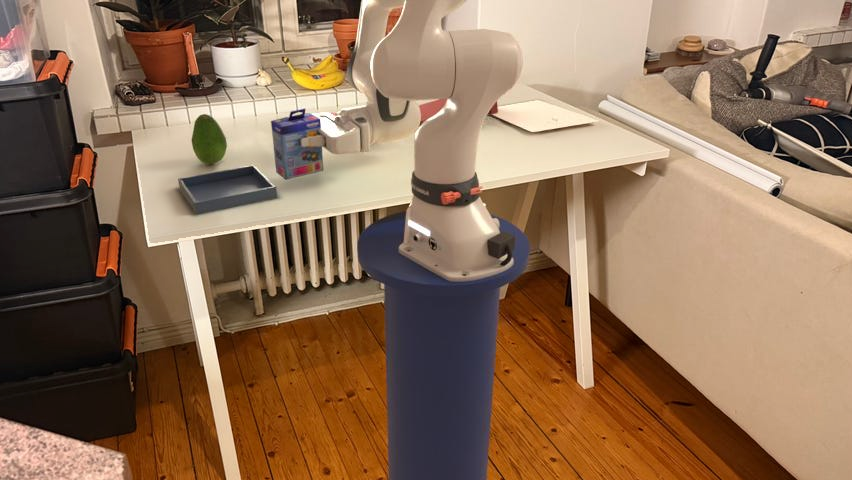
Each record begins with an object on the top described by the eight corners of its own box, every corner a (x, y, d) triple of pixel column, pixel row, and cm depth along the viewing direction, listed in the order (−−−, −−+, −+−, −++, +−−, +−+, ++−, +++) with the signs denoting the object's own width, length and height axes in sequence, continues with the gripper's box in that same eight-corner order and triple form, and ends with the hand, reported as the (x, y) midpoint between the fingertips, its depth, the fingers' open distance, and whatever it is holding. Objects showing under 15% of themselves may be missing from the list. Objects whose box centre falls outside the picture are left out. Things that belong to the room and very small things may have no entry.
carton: (418, 139, 190) (501, 114, 195) (416, 122, 188) (499, 97, 192) (403, 126, 200) (482, 103, 205) (400, 110, 198) (480, 86, 202)
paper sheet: (522, 136, 179) (523, 132, 179) (476, 110, 204) (476, 106, 203) (603, 125, 185) (603, 121, 184) (548, 101, 210) (548, 97, 209)
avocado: (190, 168, 164) (182, 118, 158) (202, 157, 171) (195, 108, 165) (223, 169, 163) (216, 119, 157) (233, 158, 170) (227, 109, 164)
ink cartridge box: (286, 181, 152) (279, 115, 144) (274, 173, 156) (267, 109, 149) (325, 170, 156) (320, 106, 149) (313, 164, 160) (308, 101, 153)
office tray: (277, 197, 148) (276, 186, 147) (196, 214, 141) (194, 203, 140) (255, 175, 160) (254, 164, 158) (179, 189, 153) (177, 178, 152)
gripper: (333, 103, 164) (277, 112, 158) (371, 125, 148) (310, 136, 142) (334, 129, 167) (280, 139, 161) (372, 154, 151) (313, 165, 145)
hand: (294, 138), depth 152 cm, fingers closed on ink cartridge box, 5 cm apart
